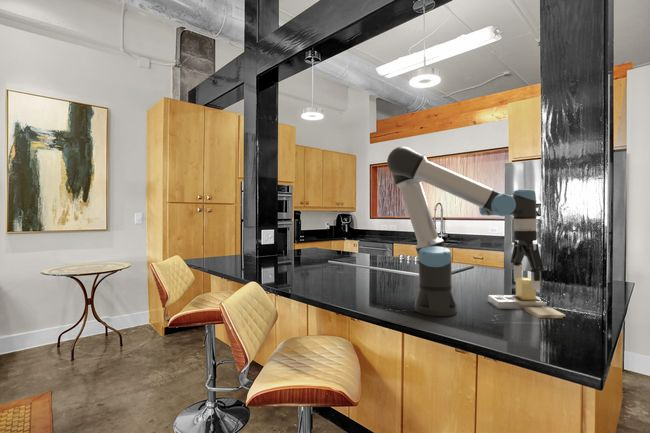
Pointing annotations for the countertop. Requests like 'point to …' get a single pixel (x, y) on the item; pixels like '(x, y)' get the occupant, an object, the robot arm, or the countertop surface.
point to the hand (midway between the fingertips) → (526, 285)
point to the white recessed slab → (513, 302)
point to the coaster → (544, 312)
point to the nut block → (524, 290)
